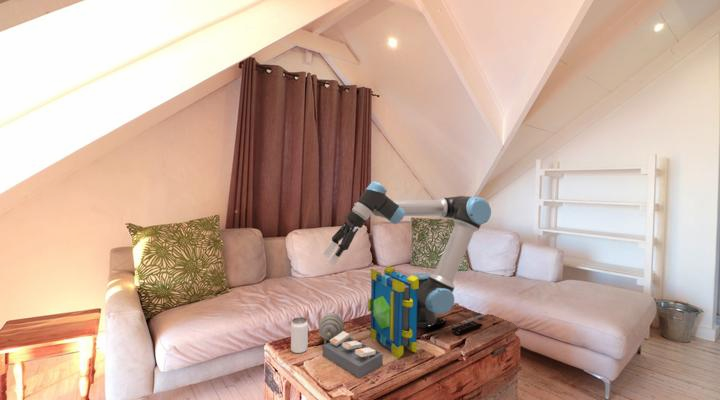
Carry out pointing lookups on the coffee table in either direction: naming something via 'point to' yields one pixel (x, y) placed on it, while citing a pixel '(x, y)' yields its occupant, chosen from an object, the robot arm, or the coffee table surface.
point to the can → (299, 335)
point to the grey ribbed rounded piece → (330, 326)
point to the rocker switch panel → (352, 358)
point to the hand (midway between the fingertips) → (328, 258)
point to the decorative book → (394, 310)
